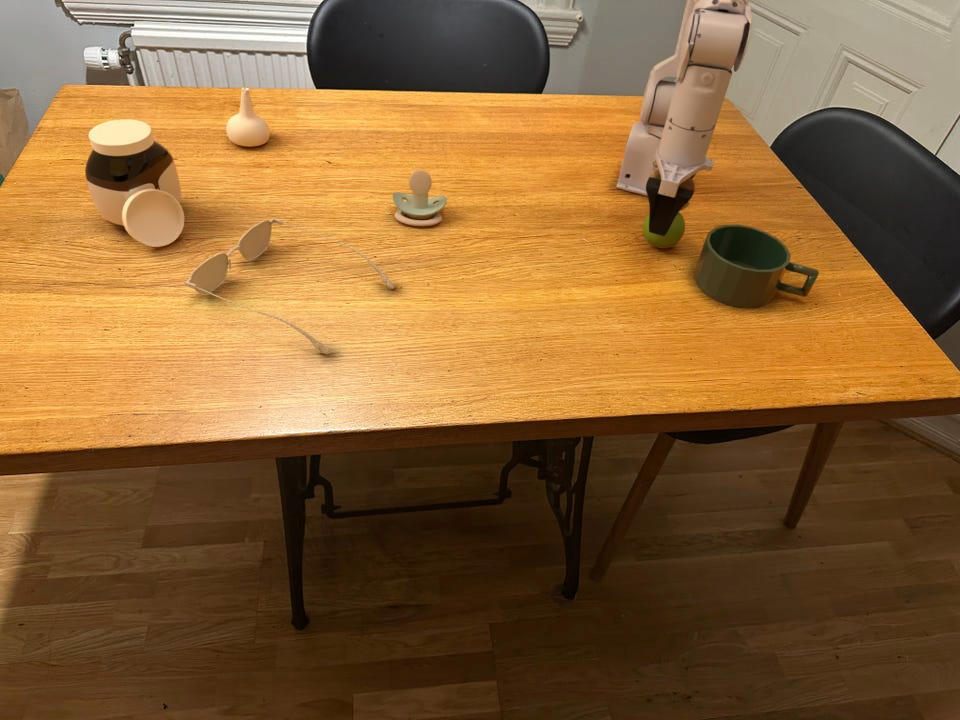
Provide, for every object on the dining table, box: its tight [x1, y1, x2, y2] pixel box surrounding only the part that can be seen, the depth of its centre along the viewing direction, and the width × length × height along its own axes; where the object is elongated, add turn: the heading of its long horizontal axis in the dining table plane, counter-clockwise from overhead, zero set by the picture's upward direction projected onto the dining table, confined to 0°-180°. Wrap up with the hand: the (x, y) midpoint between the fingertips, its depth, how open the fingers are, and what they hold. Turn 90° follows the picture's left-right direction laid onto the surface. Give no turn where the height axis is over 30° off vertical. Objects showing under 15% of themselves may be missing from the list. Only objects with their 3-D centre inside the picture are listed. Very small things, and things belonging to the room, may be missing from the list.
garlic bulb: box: [225, 87, 271, 148], centre depth 104 cm, size 6×6×8 cm
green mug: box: [693, 224, 820, 309], centre depth 86 cm, size 14×10×6 cm
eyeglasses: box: [184, 217, 395, 355], centre depth 79 cm, size 15×18×4 cm
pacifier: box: [392, 169, 448, 227], centre depth 93 cm, size 7×6×6 cm
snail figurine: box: [642, 161, 696, 249], centre depth 90 cm, size 5×6×12 cm
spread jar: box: [84, 119, 185, 248], centre depth 85 cm, size 12×11×12 cm
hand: (662, 220), depth 91 cm, fingers open, 6 cm apart
